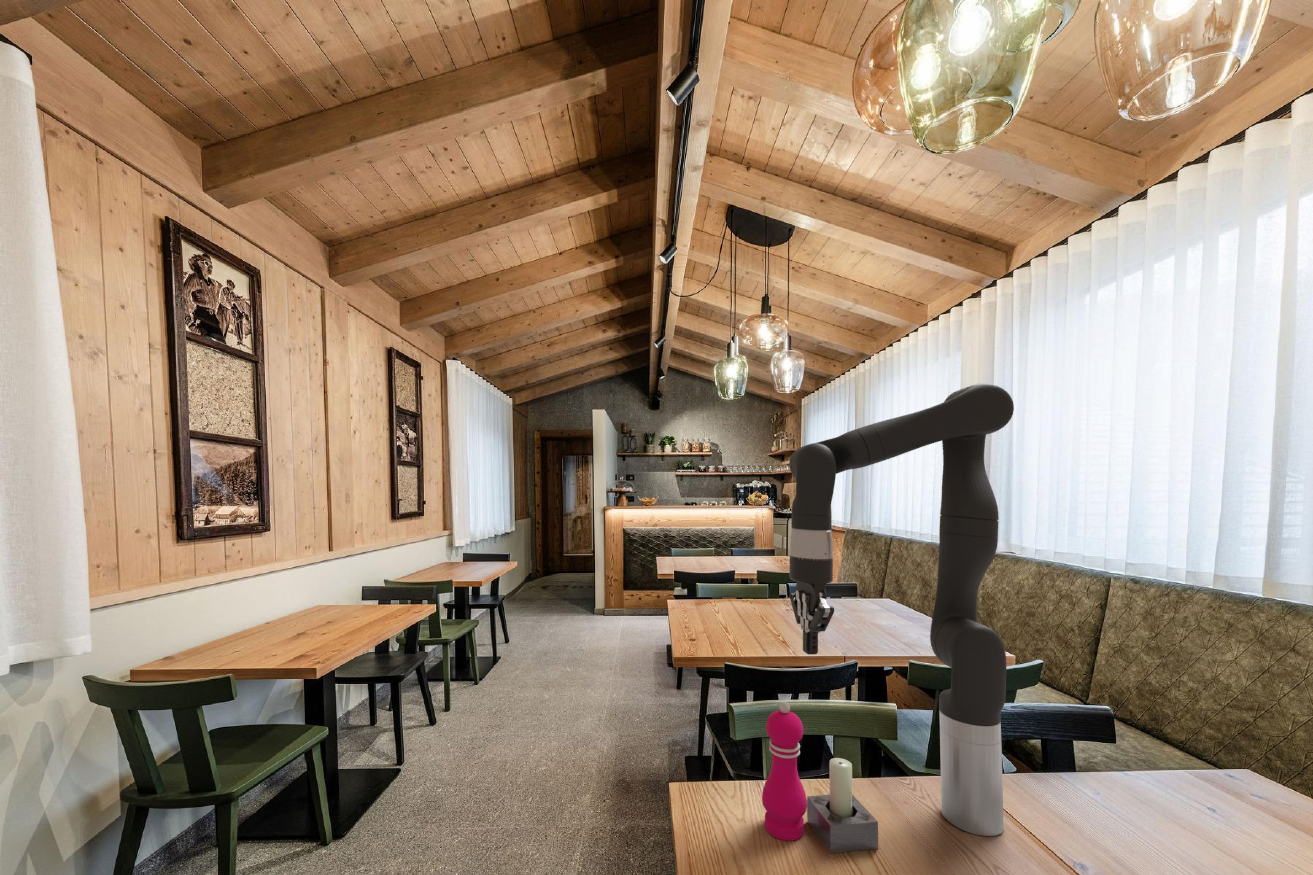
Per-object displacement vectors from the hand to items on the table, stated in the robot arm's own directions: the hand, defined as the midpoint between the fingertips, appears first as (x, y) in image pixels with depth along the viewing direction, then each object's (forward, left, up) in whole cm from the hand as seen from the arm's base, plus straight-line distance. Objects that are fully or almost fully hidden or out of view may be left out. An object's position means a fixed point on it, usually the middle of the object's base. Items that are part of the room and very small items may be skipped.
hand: (810, 652), depth 96 cm
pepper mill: (+8, 0, -27) cm, 28 cm away
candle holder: (+2, +7, -27) cm, 27 cm away
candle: (+2, +7, -26) cm, 27 cm away
